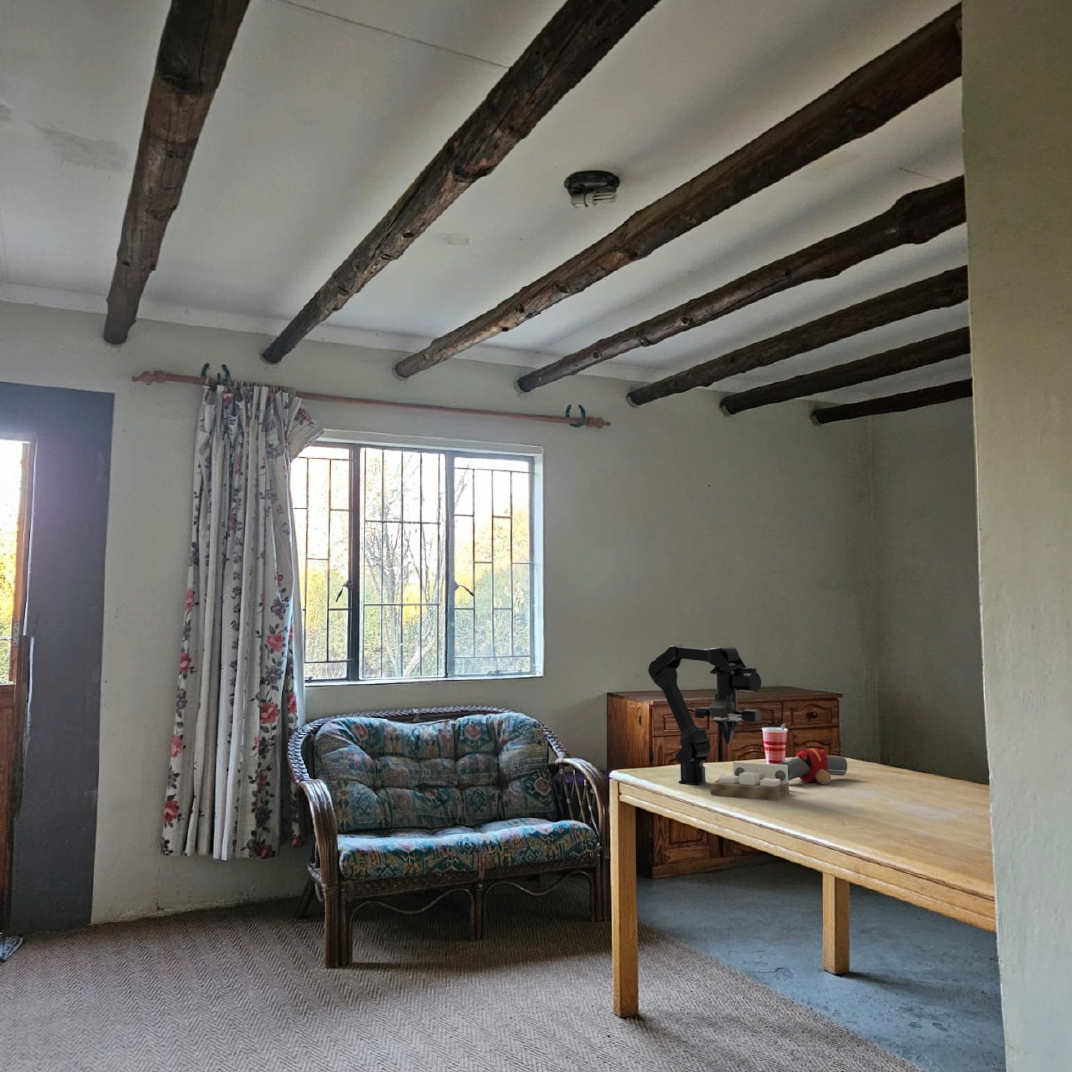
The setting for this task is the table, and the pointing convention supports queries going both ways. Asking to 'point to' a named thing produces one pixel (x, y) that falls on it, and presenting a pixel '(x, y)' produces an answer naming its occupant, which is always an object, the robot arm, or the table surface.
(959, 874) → the table surface
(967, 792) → the table surface
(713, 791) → the board
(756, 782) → the button mid
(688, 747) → the robot arm
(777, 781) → the button right
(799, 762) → the toy
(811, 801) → the table surface
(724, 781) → the button left
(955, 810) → the table surface
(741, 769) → the card
